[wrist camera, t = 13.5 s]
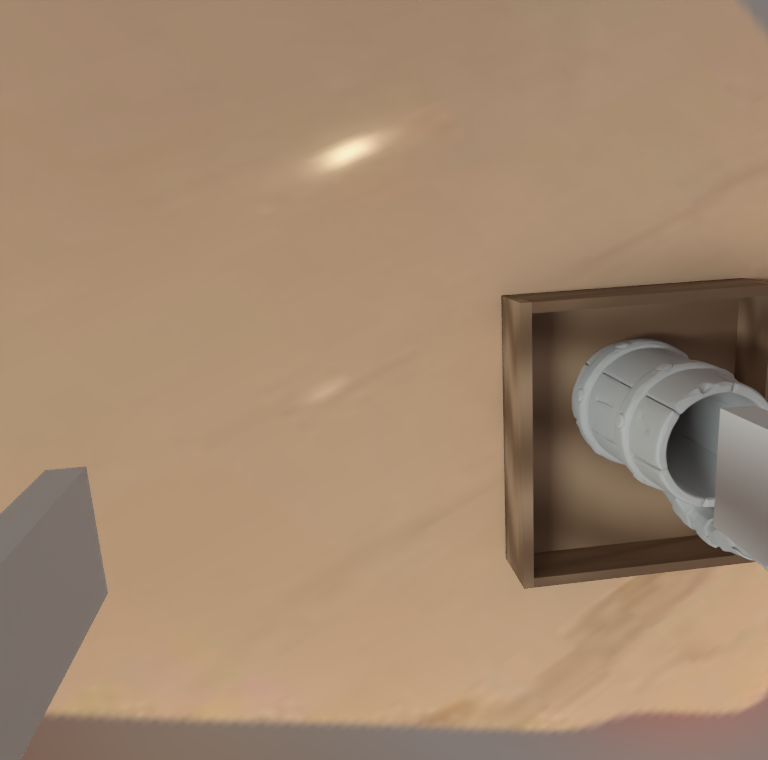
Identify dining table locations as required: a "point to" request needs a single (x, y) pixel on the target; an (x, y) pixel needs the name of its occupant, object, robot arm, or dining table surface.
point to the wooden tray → (575, 456)
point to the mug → (662, 423)
